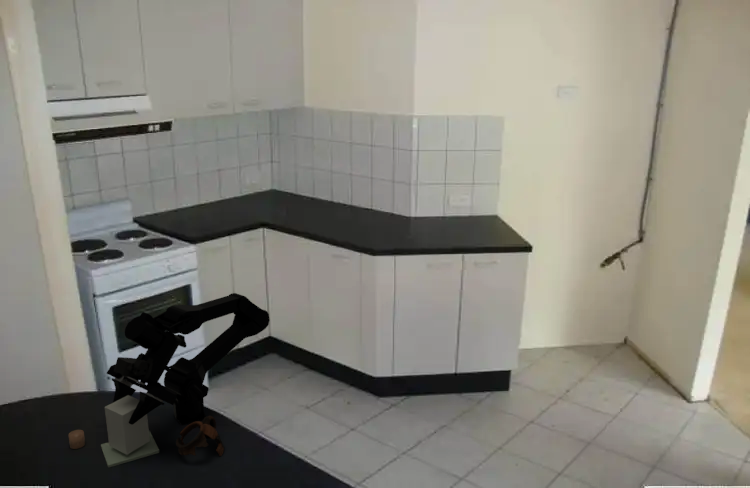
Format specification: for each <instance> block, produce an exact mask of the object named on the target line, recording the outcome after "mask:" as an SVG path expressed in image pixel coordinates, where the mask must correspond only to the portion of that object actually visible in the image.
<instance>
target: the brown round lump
mask: <svg viewBox="0 0 750 488" xmlns="http://www.w3.org/2000/svg"><path fill="white" fill-rule="evenodd" d="M68 441H69V447H70V449H73V450H77V449H81V448H83V447H84V446H85V445H86V439H85V432H84V430H82V429H75V430H72V431H70V432H69V433H68Z"/></svg>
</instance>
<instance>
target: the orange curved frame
mask: <svg viewBox="0 0 750 488" xmlns="http://www.w3.org/2000/svg"><path fill="white" fill-rule="evenodd" d="M206 416H207V417H205V418H204V419H202V421H201V420H198V421H195V422H191V423H188V425H186V426H185V427H184V428H183V429H182V430H181V431H180V432H179V436H181V437H177V438H176V440H175V445H176V447H177V448H178V449H177V450H178V454H179V455H181V456H189V455H193V456H197V455H196V447H197V448H207V447H208V446H209V442H207V440H215V443H216V444H217V448H216V449H215V452H217V453H218V456H219V457H222V455H223V453H224V451H225V445H224V444H223V441H222V438H221V437H220V435H219V433H218V431H217V422H216V418H215V417H214V416H212V415H206ZM196 428H198V429H199V432H198V433H197V434H196V436H195V437H194V438H193V439H192V440H190V441H189V442H187V443H185V442H184V439H185V437H186V436H187V435H188V434H189V433H190V432H192V431H193V430H195V429H196Z"/></svg>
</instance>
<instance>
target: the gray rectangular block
mask: <svg viewBox="0 0 750 488" xmlns="http://www.w3.org/2000/svg"><path fill="white" fill-rule="evenodd" d="M139 401H140V399H139V398H135V397H133V396H129V395H127V396H125V397H123V398H121V399H119V400H117V401H115V402H114V403H113V402H112V403H110V404H108V405H105V406H104V414H105V422H106V430H107V438H108V442H109V446H111V447H113V448H115V449H117V450H119V451H120V452H122V453H124V454H126V455H127V454H129V453H131V452H132V451H134V450H136V449H137V448H139V447H141V446H142V445H144V444H146V443H148V442H149V441H150V439H149V431H150V430H149V421H148V414H146V415H145V416H143V417H142V418H141V419H140V420H138V421H137V422H136V423H134V424H133V425H132V424H129V420H130V418H131V416H132V414H133V412H134V410H135V408H136V406H137V405H138V403H139Z"/></svg>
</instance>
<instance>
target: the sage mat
mask: <svg viewBox="0 0 750 488" xmlns="http://www.w3.org/2000/svg"><path fill="white" fill-rule="evenodd" d="M149 439H150V441H149V442H148V443H146V444H144V445H142V446H141V447H139V448H137V449H136V450H134V451H132V452H131V453H129V454H127V455H126V454H124V453H122V452H120V451H119V450H117V449H115V448H113V447H111V446H109V441H108V442H105V443H101V444H100V448H101V450H102V453H103V456H104V459H105V463H106V465H107V468H111V467H115V466H119V465H122V464H126V463H130V462H132V461H135V460H140V459H142V458H146V457H149V456H153V455H156V454H159V453H160V449H159V446H158V445H157V443H156V440H155V438H154V437H153V434H152V433H151V430H149Z"/></svg>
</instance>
